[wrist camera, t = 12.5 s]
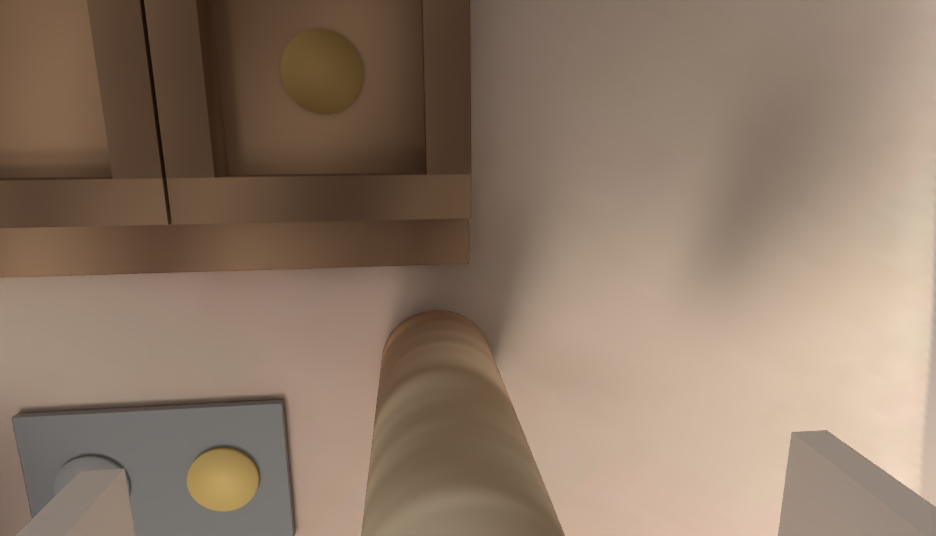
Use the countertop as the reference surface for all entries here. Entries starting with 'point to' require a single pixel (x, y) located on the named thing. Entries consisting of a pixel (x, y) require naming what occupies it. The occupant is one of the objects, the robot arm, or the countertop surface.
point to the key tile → (170, 464)
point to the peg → (449, 441)
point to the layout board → (233, 135)
